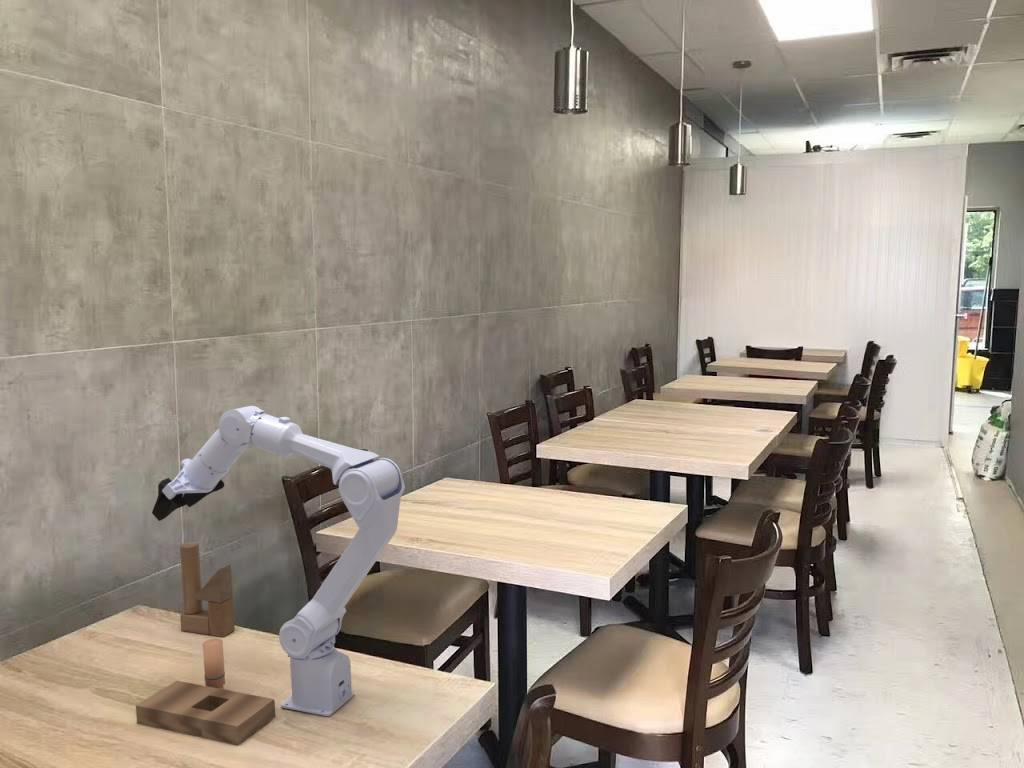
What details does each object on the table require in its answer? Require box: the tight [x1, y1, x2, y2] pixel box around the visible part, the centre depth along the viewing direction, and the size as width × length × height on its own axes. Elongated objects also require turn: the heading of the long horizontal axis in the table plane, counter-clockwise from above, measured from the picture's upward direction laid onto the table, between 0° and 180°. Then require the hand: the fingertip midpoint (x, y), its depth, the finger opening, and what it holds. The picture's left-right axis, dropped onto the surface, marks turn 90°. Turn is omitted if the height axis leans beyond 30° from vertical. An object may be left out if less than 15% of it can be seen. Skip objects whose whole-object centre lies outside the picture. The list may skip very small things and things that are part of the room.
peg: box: [202, 638, 226, 690], centre depth 143 cm, size 3×3×9 cm
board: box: [135, 680, 276, 746], centre depth 134 cm, size 20×9×3 cm, turn 69°
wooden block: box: [179, 541, 235, 638], centre depth 169 cm, size 4×11×18 cm, turn 70°
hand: (172, 509), depth 146 cm, fingers open, 7 cm apart
